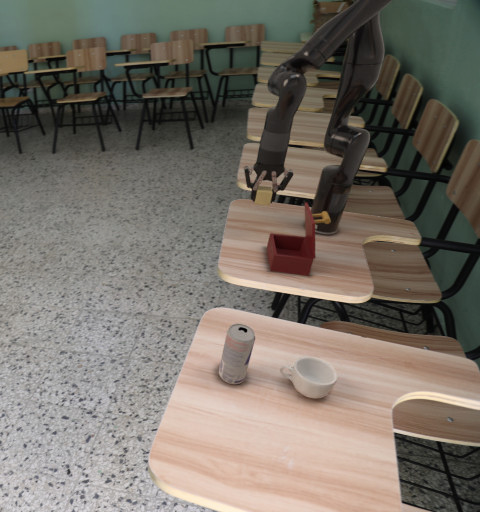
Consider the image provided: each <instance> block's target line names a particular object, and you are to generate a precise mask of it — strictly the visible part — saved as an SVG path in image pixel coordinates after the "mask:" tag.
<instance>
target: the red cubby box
mask: <svg viewBox="0 0 480 512" xmlns="http://www.w3.org/2000/svg"><path fill="white" fill-rule="evenodd" d="M267 240H268V241H267V244H266V254H267V259H268V265H269V270H270V272H275V273H284V274H293V275H298V276H299V275H301V276H309V275H310V272H311V269H312V265H313V263H314V258H312V255H311V252H310V249H309V246H308V243H307V239H306V236H301V235H290V234H282V233H273V232H270V233H269V236H268V239H267Z"/></svg>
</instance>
